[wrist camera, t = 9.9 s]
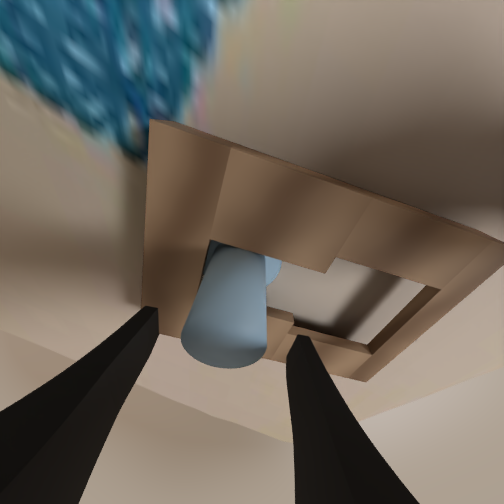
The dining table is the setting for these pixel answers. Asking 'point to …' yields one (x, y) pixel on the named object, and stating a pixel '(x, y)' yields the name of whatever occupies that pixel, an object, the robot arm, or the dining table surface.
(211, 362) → the footed peg
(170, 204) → the keyhole bridge
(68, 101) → the dining table surface
